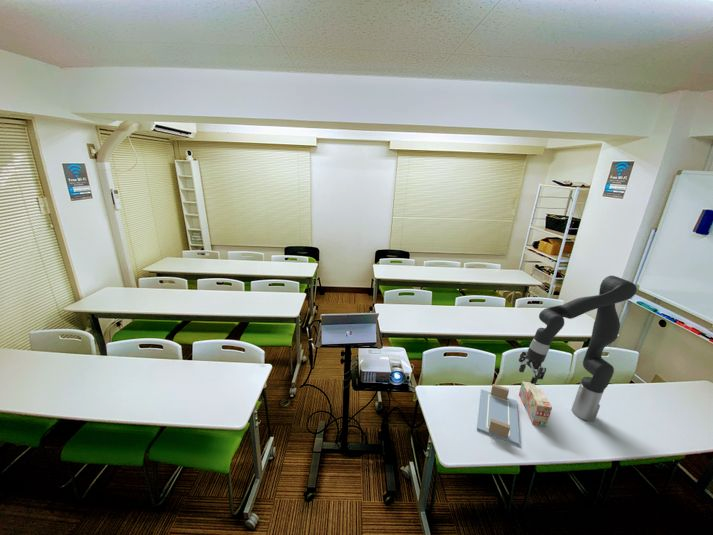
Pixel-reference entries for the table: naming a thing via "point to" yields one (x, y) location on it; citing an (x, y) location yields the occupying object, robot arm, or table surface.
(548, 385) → the table surface
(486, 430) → the board
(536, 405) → the stack of blocks
